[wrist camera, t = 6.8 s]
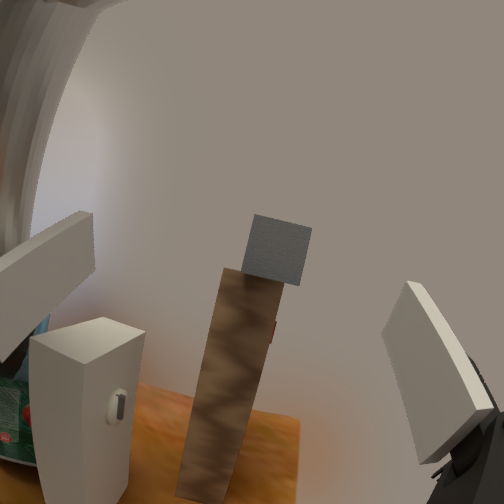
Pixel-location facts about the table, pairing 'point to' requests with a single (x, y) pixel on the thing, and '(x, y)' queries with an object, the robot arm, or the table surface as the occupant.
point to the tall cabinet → (227, 383)
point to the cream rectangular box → (84, 409)
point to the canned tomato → (16, 423)
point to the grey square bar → (276, 250)
